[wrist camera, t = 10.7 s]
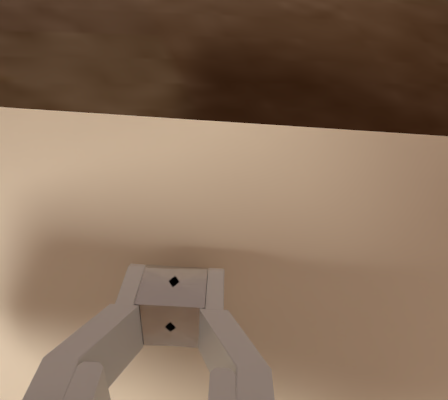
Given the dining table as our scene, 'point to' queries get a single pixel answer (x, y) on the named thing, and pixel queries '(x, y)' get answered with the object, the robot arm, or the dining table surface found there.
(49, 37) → the dining table surface
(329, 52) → the dining table surface
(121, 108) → the dining table surface
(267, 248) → the mailer lid
